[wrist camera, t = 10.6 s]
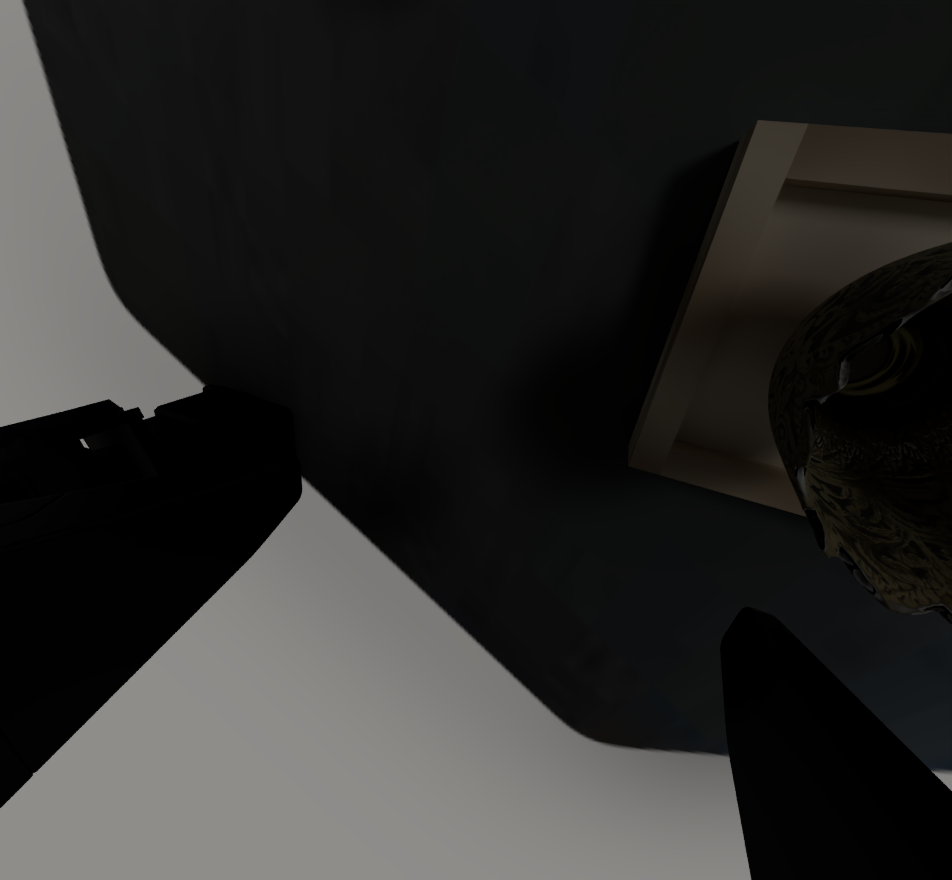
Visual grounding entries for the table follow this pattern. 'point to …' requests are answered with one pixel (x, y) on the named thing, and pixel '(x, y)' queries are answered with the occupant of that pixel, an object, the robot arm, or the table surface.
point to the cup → (876, 430)
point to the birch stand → (781, 289)
